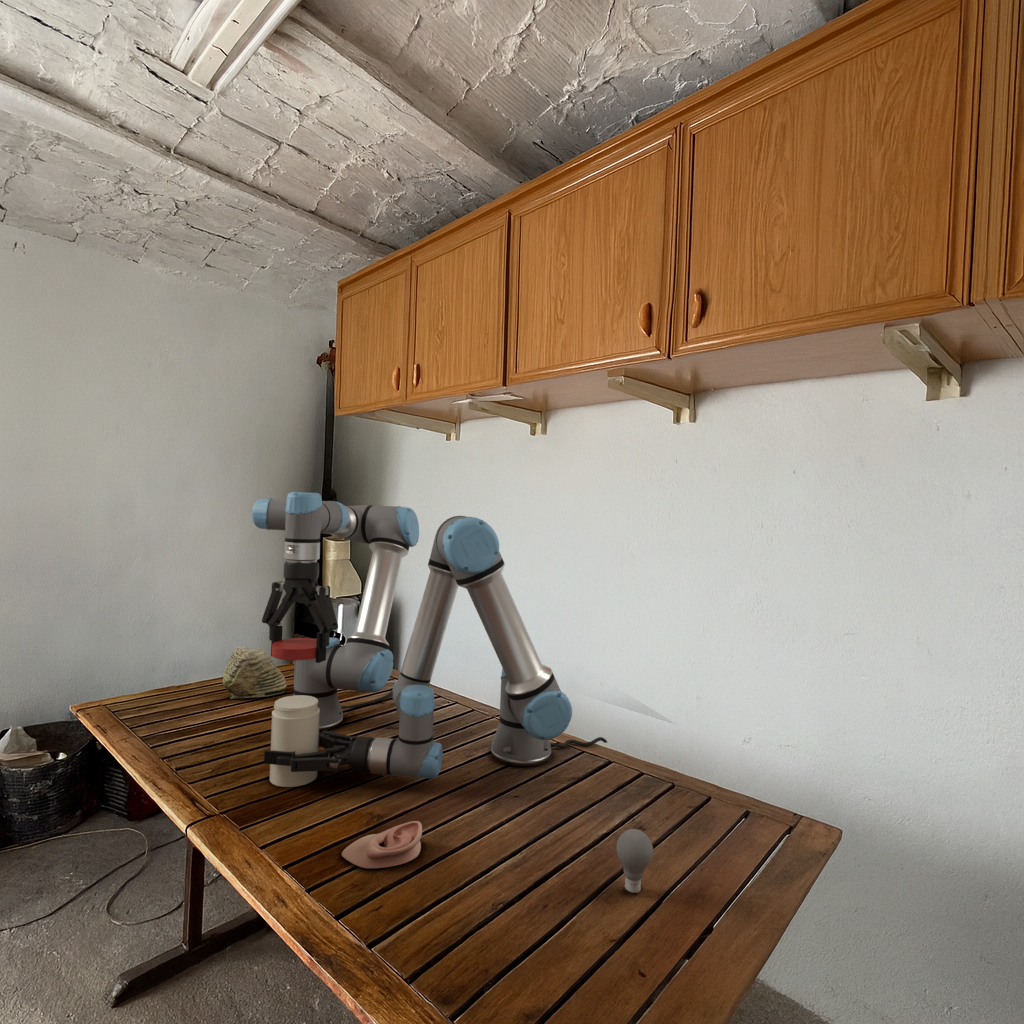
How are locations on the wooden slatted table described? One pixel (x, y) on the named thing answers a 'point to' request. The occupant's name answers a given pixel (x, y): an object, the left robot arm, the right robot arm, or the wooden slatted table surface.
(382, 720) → the wooden slatted table surface
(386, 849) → the anatomical model
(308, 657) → the lid
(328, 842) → the wooden slatted table surface
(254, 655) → the fossil
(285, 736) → the jar
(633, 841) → the light bulb
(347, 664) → the left robot arm
